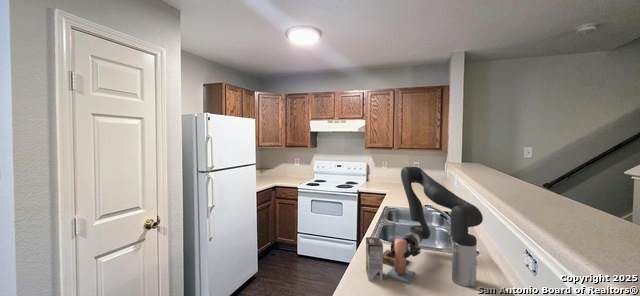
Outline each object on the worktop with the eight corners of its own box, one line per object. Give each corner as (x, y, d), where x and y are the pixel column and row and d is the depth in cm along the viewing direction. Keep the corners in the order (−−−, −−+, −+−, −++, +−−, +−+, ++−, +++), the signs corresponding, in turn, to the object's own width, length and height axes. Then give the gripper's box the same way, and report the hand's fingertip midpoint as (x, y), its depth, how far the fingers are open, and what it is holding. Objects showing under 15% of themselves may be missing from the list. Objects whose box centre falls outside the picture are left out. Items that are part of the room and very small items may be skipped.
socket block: (406, 260, 140) (406, 254, 140) (399, 267, 132) (399, 261, 132) (387, 255, 146) (387, 249, 146) (379, 262, 138) (379, 256, 138)
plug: (407, 270, 125) (407, 240, 124) (403, 274, 121) (404, 243, 120) (396, 267, 128) (397, 237, 127) (392, 271, 124) (393, 241, 123)
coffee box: (365, 270, 129) (365, 236, 128) (379, 270, 129) (379, 237, 128) (368, 280, 120) (368, 244, 119) (383, 281, 120) (383, 244, 119)
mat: (415, 274, 126) (415, 272, 126) (408, 283, 118) (408, 281, 118) (393, 268, 132) (393, 266, 131) (386, 277, 123) (386, 274, 123)
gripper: (396, 231, 140) (383, 242, 126) (425, 237, 132) (415, 250, 118) (396, 246, 140) (383, 258, 126) (425, 253, 132) (415, 267, 118)
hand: (398, 254), depth 122 cm, fingers closed on plug, 5 cm apart
